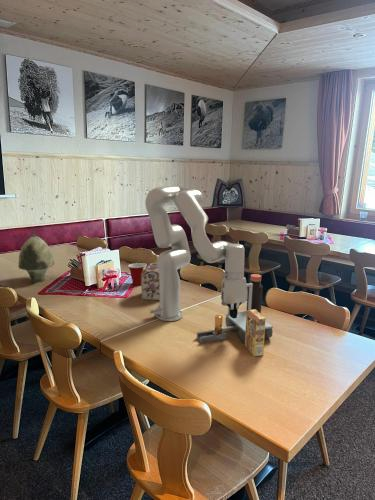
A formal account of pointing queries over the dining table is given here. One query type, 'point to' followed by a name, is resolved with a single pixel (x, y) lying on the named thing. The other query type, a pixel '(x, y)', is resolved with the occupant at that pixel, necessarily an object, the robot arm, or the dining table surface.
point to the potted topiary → (35, 258)
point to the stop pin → (219, 328)
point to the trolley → (241, 320)
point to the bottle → (255, 293)
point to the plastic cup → (136, 272)
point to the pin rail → (210, 336)
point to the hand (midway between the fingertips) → (233, 317)
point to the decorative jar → (150, 282)
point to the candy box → (255, 332)
